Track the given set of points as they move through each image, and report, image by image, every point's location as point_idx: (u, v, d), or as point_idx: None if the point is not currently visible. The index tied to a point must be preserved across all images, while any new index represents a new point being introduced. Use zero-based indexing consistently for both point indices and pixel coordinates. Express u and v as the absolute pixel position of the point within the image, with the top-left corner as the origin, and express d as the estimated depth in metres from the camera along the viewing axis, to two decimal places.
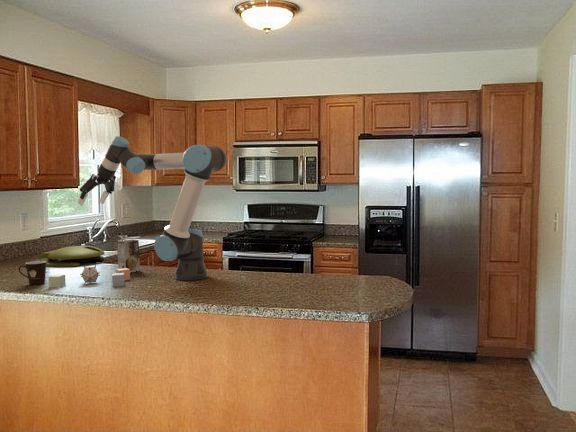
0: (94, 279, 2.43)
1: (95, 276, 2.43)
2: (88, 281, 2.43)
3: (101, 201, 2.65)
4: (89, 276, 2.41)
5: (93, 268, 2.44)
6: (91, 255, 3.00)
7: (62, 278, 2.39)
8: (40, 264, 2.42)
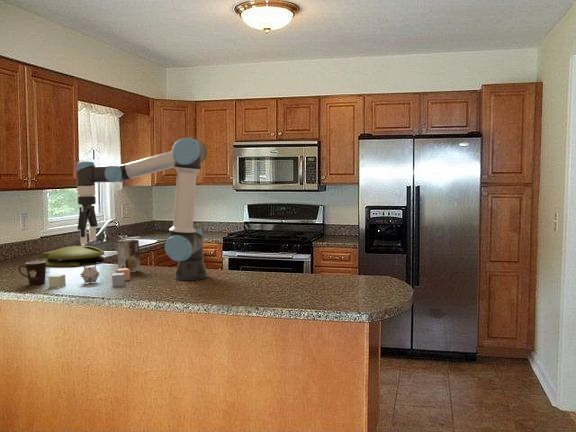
0: (94, 279, 2.43)
1: (95, 276, 2.43)
2: (88, 281, 2.43)
3: (93, 238, 2.50)
4: (89, 276, 2.41)
5: (93, 268, 2.44)
6: (91, 255, 3.00)
7: (62, 278, 2.39)
8: (40, 264, 2.42)
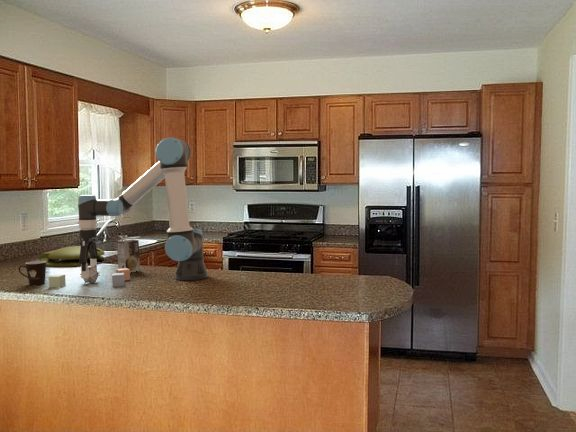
0: (94, 279, 2.43)
1: (95, 276, 2.43)
2: (88, 281, 2.43)
3: None
4: (89, 276, 2.41)
5: (93, 268, 2.44)
6: None
7: (62, 278, 2.39)
8: (40, 264, 2.42)
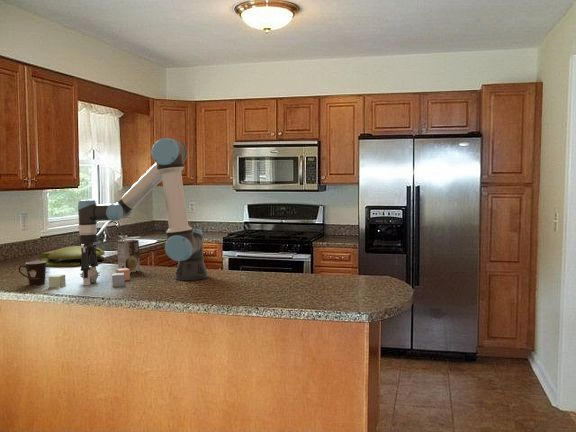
0: (94, 279, 2.43)
1: (95, 276, 2.43)
2: None
3: None
4: None
5: (93, 268, 2.44)
6: None
7: (62, 278, 2.39)
8: (40, 264, 2.42)
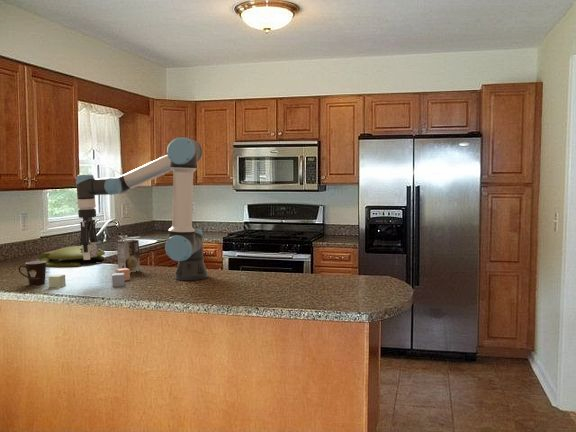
0: (94, 254, 2.42)
1: (95, 251, 2.42)
2: None
3: None
4: None
5: (93, 243, 2.43)
6: None
7: (62, 278, 2.39)
8: (40, 264, 2.42)
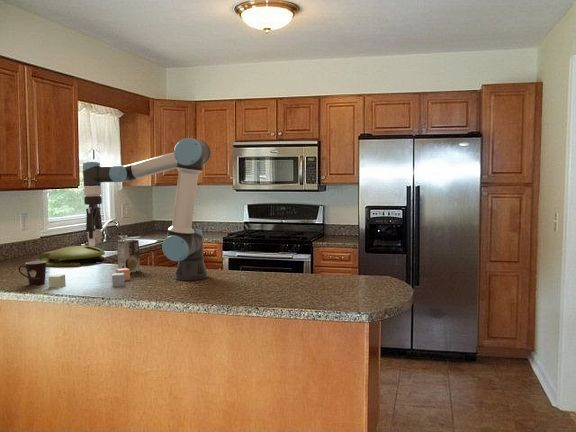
0: (99, 240, 2.45)
1: (100, 237, 2.45)
2: None
3: None
4: None
5: (98, 230, 2.46)
6: (91, 255, 3.00)
7: (62, 278, 2.39)
8: (40, 264, 2.42)
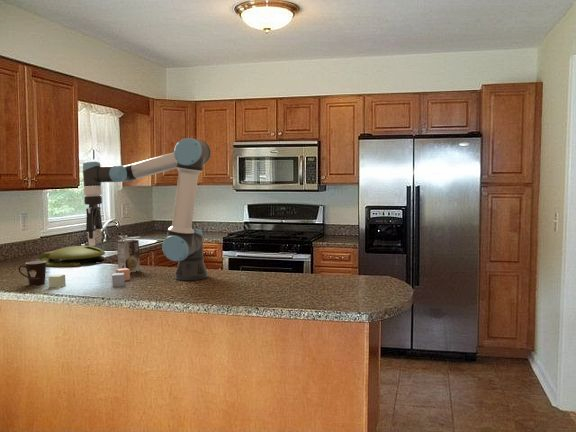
0: (99, 240, 2.45)
1: (100, 237, 2.45)
2: None
3: None
4: None
5: (98, 230, 2.46)
6: (92, 255, 2.99)
7: (62, 278, 2.39)
8: (40, 264, 2.42)
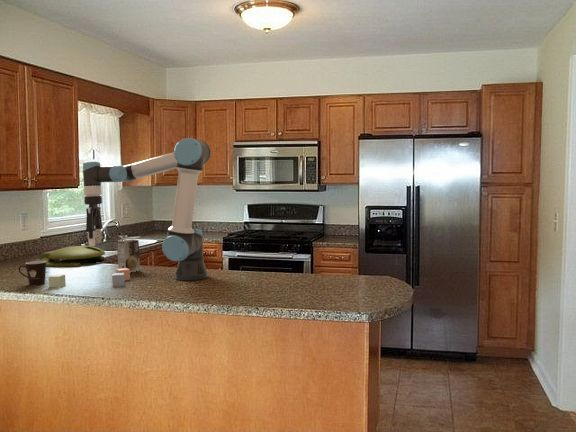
0: (99, 240, 2.45)
1: (100, 237, 2.45)
2: None
3: None
4: None
5: (98, 230, 2.46)
6: (92, 255, 2.99)
7: (62, 278, 2.39)
8: (40, 264, 2.42)
